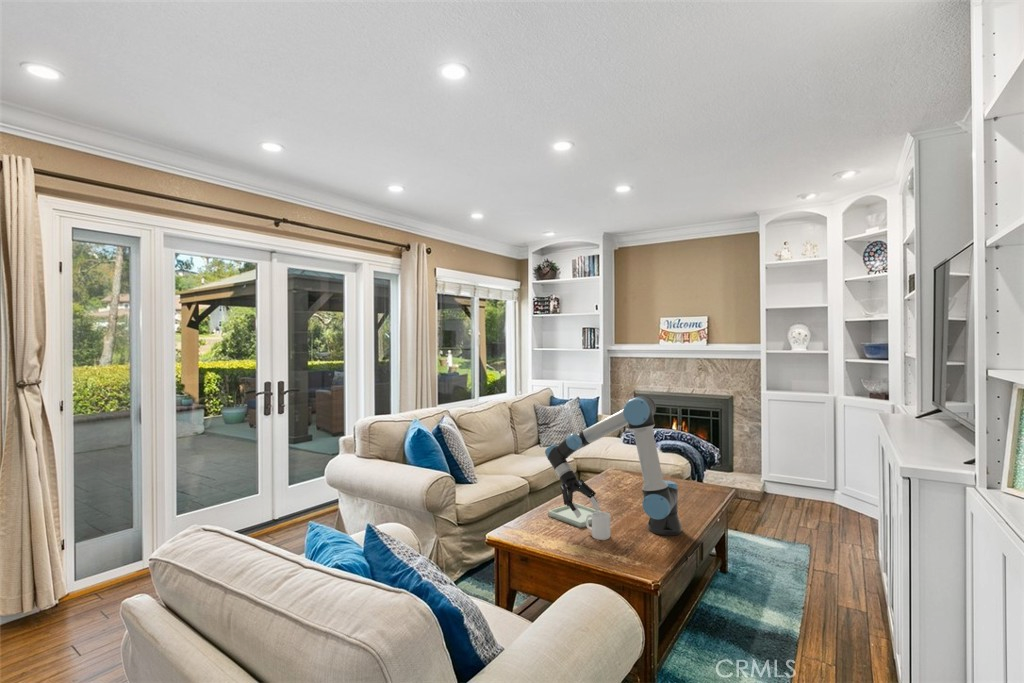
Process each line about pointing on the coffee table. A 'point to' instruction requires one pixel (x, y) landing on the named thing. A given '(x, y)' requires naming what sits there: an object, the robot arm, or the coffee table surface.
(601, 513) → the cup
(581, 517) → the sage tray
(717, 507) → the coffee table surface
